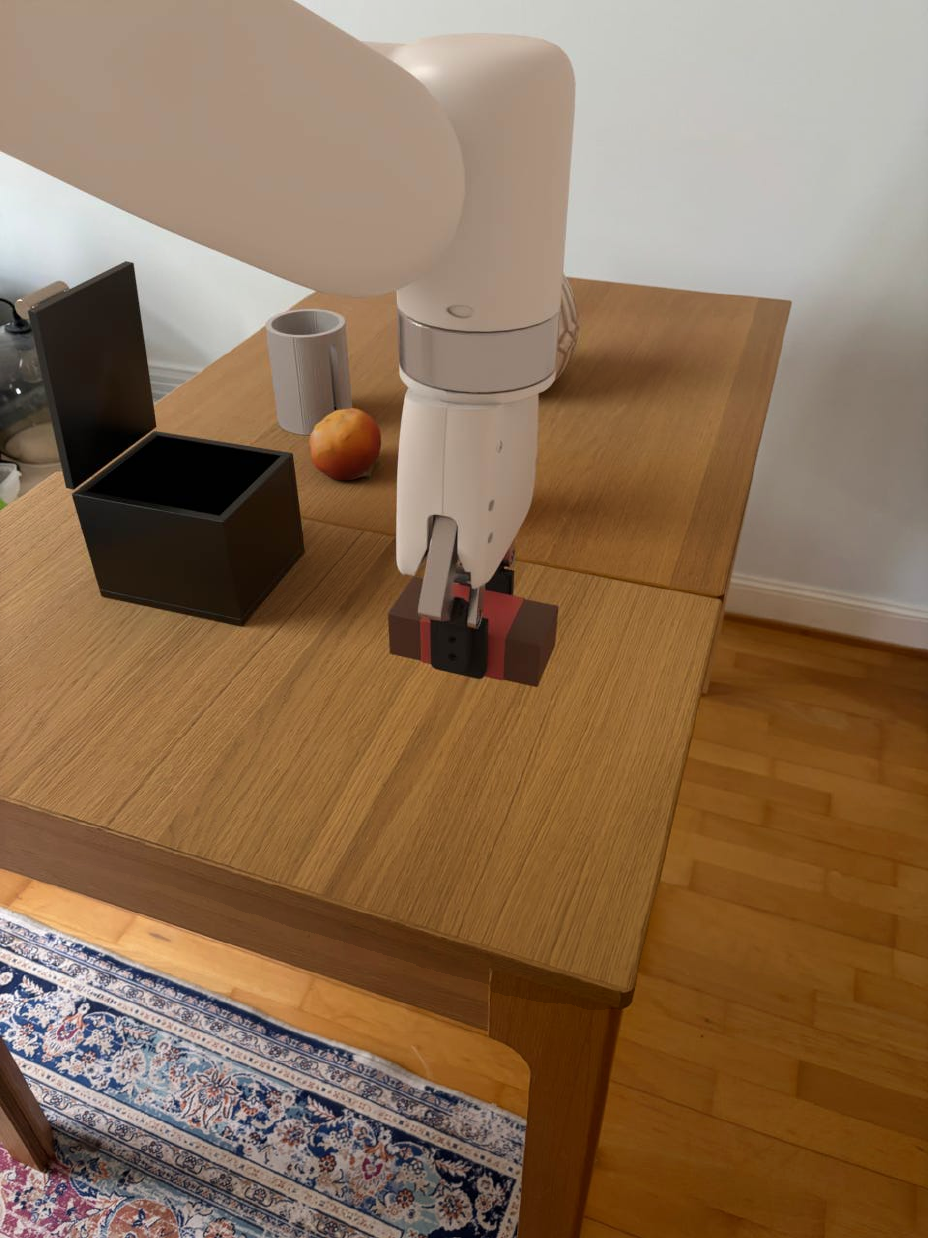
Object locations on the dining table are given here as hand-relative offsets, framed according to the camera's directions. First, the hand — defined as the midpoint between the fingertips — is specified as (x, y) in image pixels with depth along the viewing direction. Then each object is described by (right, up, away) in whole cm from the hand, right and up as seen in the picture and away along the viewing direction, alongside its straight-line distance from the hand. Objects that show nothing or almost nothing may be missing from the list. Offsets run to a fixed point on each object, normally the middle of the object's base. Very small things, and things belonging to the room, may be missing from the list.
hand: (472, 643), depth 55 cm
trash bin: (-25, +6, +34) cm, 43 cm away
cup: (-19, +26, +61) cm, 69 cm away
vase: (+6, +33, +70) cm, 77 cm away
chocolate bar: (0, 0, 0) cm, 1 cm away
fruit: (-14, +18, +51) cm, 55 cm away
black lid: (-31, +22, +24) cm, 45 cm away
